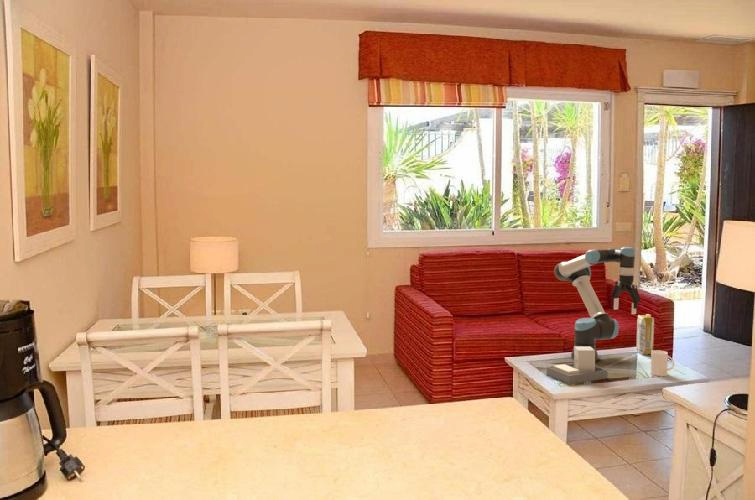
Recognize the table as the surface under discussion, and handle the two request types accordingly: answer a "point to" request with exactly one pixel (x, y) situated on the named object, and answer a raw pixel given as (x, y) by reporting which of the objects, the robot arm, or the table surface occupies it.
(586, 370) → the supplement box
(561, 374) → the tray
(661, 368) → the mug
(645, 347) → the juice carton
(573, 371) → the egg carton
